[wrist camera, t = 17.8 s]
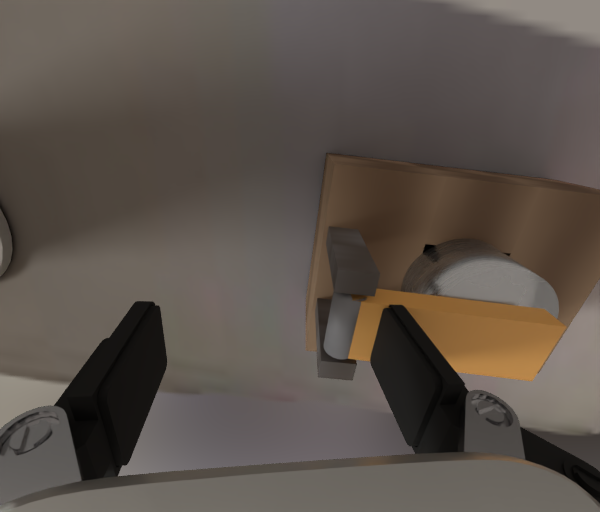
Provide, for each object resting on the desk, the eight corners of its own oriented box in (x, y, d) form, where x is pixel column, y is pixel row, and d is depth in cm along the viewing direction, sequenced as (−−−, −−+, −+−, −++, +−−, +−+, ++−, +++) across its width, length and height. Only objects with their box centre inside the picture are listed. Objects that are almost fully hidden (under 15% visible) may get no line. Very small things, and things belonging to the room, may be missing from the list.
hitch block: (305, 299, 24) (305, 422, 14) (326, 152, 19) (348, 182, 9) (487, 318, 25) (610, 450, 15) (554, 179, 20) (812, 236, 10)
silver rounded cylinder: (371, 279, 22) (409, 366, 14) (390, 206, 20) (447, 262, 12) (445, 287, 23) (522, 377, 15) (472, 215, 20) (585, 277, 12)
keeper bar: (323, 335, 14) (323, 357, 12) (332, 281, 12) (334, 300, 11) (513, 358, 13) (533, 383, 12) (542, 307, 12) (568, 328, 11)
